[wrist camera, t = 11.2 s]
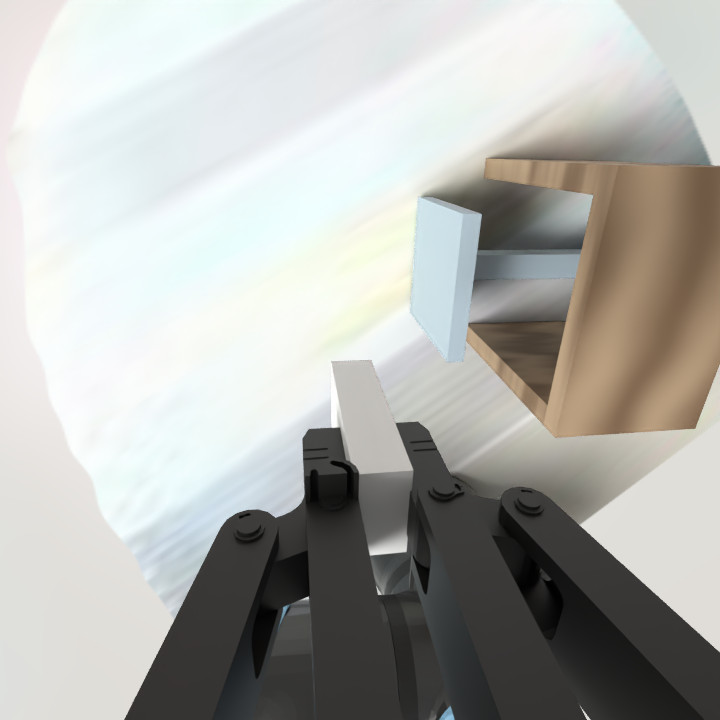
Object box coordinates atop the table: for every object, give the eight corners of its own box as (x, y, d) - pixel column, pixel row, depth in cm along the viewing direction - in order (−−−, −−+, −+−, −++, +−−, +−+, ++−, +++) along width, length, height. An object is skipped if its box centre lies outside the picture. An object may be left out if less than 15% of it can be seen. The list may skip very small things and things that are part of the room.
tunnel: (464, 338, 45) (554, 437, 29) (486, 158, 38) (618, 165, 23) (560, 335, 46) (695, 428, 31) (597, 160, 39) (793, 168, 24)
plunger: (409, 317, 42) (446, 368, 33) (418, 190, 38) (464, 205, 28) (591, 312, 45) (676, 358, 35) (619, 192, 40) (727, 207, 30)
